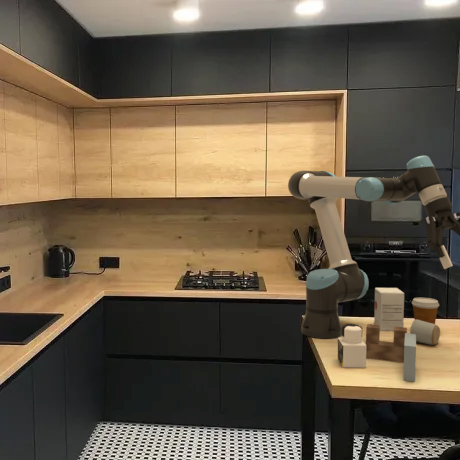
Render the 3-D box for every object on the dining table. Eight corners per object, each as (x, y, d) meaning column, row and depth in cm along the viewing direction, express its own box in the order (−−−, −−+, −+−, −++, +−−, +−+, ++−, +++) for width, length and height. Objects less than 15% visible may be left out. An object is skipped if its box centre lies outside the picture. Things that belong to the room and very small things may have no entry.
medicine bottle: (337, 359, 142) (338, 322, 141) (360, 359, 142) (360, 322, 141) (342, 367, 135) (342, 328, 134) (366, 368, 135) (367, 328, 134)
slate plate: (403, 380, 126) (404, 345, 125) (404, 365, 137) (405, 333, 136) (414, 381, 125) (416, 346, 124) (414, 366, 136) (415, 334, 135)
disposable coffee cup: (405, 328, 174) (406, 298, 173) (427, 326, 176) (428, 296, 175) (421, 336, 165) (422, 303, 164) (444, 334, 167) (445, 302, 166)
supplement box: (373, 324, 180) (374, 287, 179) (396, 324, 179) (397, 287, 178) (379, 331, 171) (380, 292, 170) (403, 331, 170) (404, 292, 169)
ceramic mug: (433, 348, 152) (434, 325, 151) (409, 342, 157) (410, 321, 157) (443, 341, 160) (444, 319, 159) (420, 336, 165) (420, 315, 165)
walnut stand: (365, 357, 143) (366, 327, 142) (366, 353, 147) (367, 323, 146) (406, 363, 138) (406, 331, 138) (406, 358, 142) (407, 327, 141)
